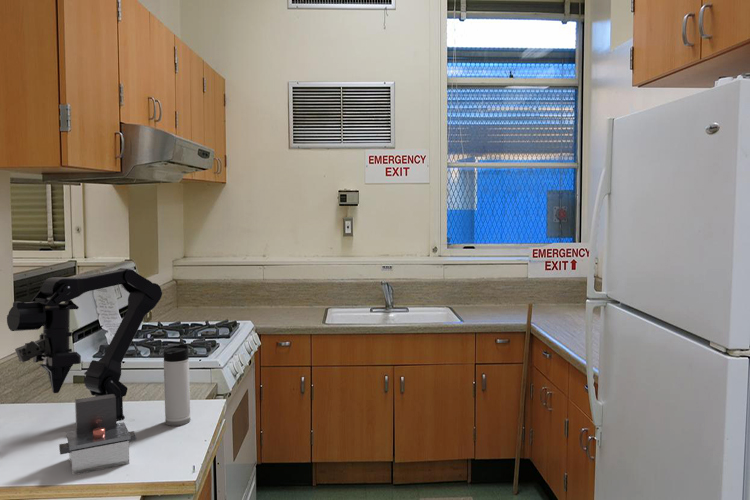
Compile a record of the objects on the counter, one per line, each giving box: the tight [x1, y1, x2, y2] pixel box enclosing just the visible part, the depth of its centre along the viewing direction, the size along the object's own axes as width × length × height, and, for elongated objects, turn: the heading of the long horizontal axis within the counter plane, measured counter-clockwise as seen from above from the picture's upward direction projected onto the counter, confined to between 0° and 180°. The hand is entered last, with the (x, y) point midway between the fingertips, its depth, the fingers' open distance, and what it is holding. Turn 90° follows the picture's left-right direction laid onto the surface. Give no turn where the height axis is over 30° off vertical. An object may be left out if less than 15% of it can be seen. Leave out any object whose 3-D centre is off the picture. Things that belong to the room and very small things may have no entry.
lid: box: [66, 394, 131, 451], centre depth 128 cm, size 10×12×8 cm
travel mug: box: [163, 343, 191, 427], centre depth 153 cm, size 6×7×20 cm
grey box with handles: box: [58, 430, 137, 476], centre depth 128 cm, size 10×15×5 cm, turn 121°
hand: (55, 392), depth 142 cm, fingers closed
